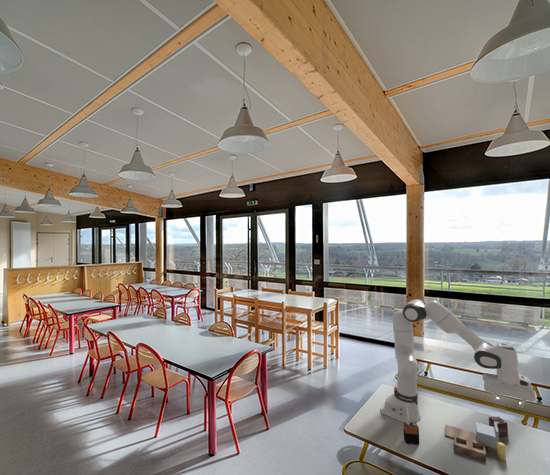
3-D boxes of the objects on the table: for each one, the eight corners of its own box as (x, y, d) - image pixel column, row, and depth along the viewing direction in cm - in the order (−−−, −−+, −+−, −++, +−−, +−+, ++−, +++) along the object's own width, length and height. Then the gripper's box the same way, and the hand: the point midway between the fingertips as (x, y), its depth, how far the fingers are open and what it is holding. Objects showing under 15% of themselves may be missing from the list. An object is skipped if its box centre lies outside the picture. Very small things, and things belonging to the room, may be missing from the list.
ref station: (444, 436, 154) (444, 425, 154) (445, 425, 163) (445, 415, 163) (500, 453, 142) (500, 441, 142) (497, 441, 150) (497, 430, 150)
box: (499, 429, 159) (498, 416, 159) (508, 436, 153) (507, 423, 153) (488, 429, 159) (488, 416, 159) (497, 437, 153) (497, 423, 153)
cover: (477, 443, 147) (476, 425, 147) (476, 433, 155) (475, 416, 155) (499, 449, 142) (498, 431, 142) (496, 439, 150) (496, 422, 150)
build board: (454, 450, 144) (454, 444, 144) (454, 439, 152) (454, 434, 152) (486, 460, 137) (486, 454, 137) (484, 449, 145) (484, 443, 145)
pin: (498, 459, 138) (497, 445, 138) (497, 455, 140) (497, 441, 140) (506, 461, 136) (505, 447, 136) (505, 457, 139) (504, 443, 139)
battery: (403, 438, 153) (403, 419, 153) (416, 439, 152) (416, 420, 152) (405, 444, 149) (405, 425, 149) (419, 445, 148) (419, 426, 148)
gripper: (482, 374, 147) (484, 401, 147) (535, 384, 136) (536, 413, 135) (482, 369, 152) (483, 395, 152) (532, 378, 141) (534, 406, 141)
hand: (509, 404), depth 144 cm, fingers open, 8 cm apart
